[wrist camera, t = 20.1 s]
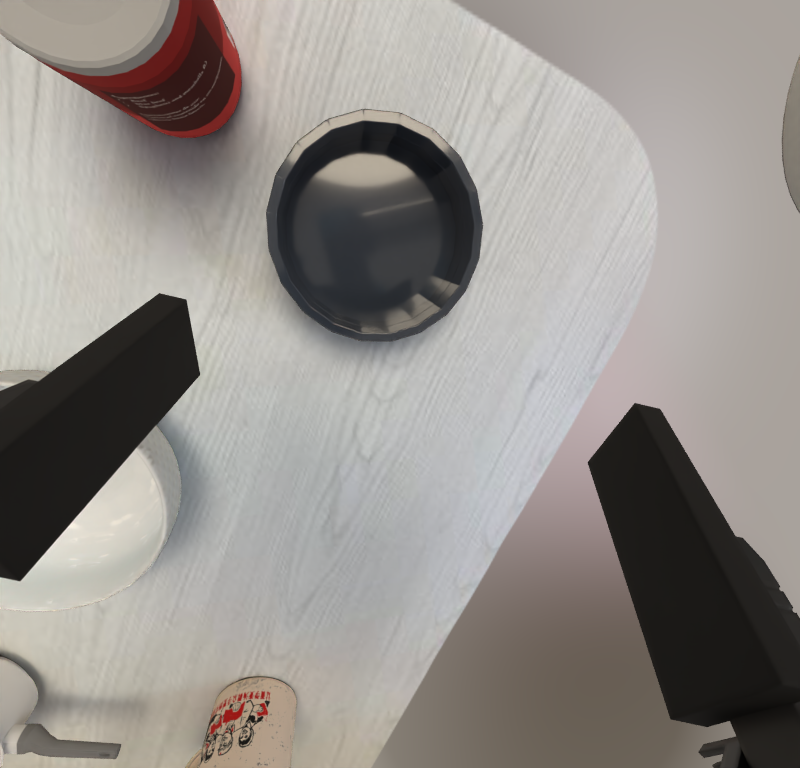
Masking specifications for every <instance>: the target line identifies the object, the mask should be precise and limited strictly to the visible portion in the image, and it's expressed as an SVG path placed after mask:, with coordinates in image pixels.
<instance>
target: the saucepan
mask: <svg viewBox="0 0 800 768" xmlns="http://www.w3.org/2000/svg"><path fill="white" fill-rule="evenodd" d="M37 701H38V691H37V687H36V685H35V683H34V681H33V680H32V679H31V678H30V676H29V675H28V674H27V673H26V672H25V670H24V669H23V668H22V667H20V666H19V665H18V664H16V663H15V662H13V661H11V660H9V659H7V658H4V657H2V656H0V768H1V767H2V765H3V759H4V754H25V753H28V752H33V753H35V754H38V755H42V756H49V757H71V758H100V759H116V758H117V756H118V754H119V751H120V748H121V744H114V743H99V742H84V741H70V740H57V739H56V738H55V737H54V736H52V735H51V734H50V733H49V732H48V731H47V730H46V729H45V728H44V727H43V726H42V725H41V724H28V725H27V724H25V722H26V721H27V719H28V718H29V716H30V715H31V713H32V712H33V710H34V708H35V706H36V704H37Z"/></svg>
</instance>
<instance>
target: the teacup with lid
mask: <svg viewBox="0 0 800 768" xmlns="http://www.w3.org/2000/svg"><path fill="white" fill-rule="evenodd" d="M296 705H297V701H296V696H295V694H294V692H293V690H292V689H291V688H290V687H289V686H288V685H286V684H285V683H283V682H281V681H279V680H276V679H272V678H265V677H255V678H248V679H244V680H241V681H238V682H236V683H234V684H232V685H230V686H228V687H227V688H226V689H225V690H223V691H222V692H221V693H220V695H219V696H218V698H217V699H216V701H215V704H214V708H213V711H212V715H211V718H210V722H209V726H208V729H207V733H206V737H205V740H204V744H203V747H202V749H200V750H199V751H198V752H197V753H196V754H195V755H194V756H193V757H192V758H191V760H190V761H189V763H188V764H187V765H186V767H185V768H290V766H291V756H292V746H293V736H294V726H295V716H296Z"/></svg>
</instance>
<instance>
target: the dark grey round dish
mask: <svg viewBox="0 0 800 768" xmlns="http://www.w3.org/2000/svg"><path fill="white" fill-rule="evenodd" d="M266 217H267V233H268V248H269V252H270V255H271V257H272V260H273V263H274V265H275V268H276V271H277V273H278V276H279V279H280V281H281V284H282V285H283V286H284V288H285V289H286V290H287V292H288V293H289V294H290V296H291V297H292V298H293V299H294V301H295V302H296V303H297V305H298V306H299V307H300V309H301V310H302V311H304V313H305V314H307V315H308V316H310V317H311V318H312V319H314V320H315V321H317V322H318V323H319V324H321V325H322V326H324V327H325V328H326V329H328V330H329V331H331V332H334V333H337V334H340V335H343V336H346V337H349V338H352V339H355V340H358V341H360V340H361V341H387V342H390V341H395V340H398V339H401V338H405V337H408V336H411V335H415V334H418V333H420V332H422V331H424V330H425V329H427V328H428V327H430V326H431V325H433V324H434V323H436V322H437V321H439V320H440V319H441V318H443V317H444V316H446V315H447V314H448V313H449V311H450V310H451V309H452V308H453V306H454V305H455V304H456V303H457V301H458V300H459V299H460V298H461V296H462V295H463V294H464V293H465V291H466V289H467V288H468V285H469V283H470V280H471V278H472V275H473V273H474V271H475V268H476V266H477V263H478V261H479V256H480V247H481V238H482V229H483V225H482V224H483V222H482V216H481V210H480V205H479V199H478V193H477V190H476V186H475V184H474V183H473V181H472V179H471V177H470V175H469V173H468V171H467V169H466V167H465V165H464V163H463V161H462V159H461V157H459V154H458V153H457V152H456V151H455V150H454V149H453V148H452V147H451V146H450V145H449V144H448V143H447V142H446V141H445V140H444V139H443V138H442V137H441V136H440V135H439V134H438V133H437V132H436V131H435V130H434V129H433V128H430V127H428V126H426V125H424V124H422V123H420V122H418V121H416V120H414V119H412V118H410V117H408V116H406V115H404V114H402V113H399V112H390V111H380V110H370V109H361V110H358V111H354V112H350V113H347V114H343V115H340V116H336V117H333V118H329V119H327V120H325V121H324V122H322V123H321V124H320V125H318V126H317V127H316V128H314V129H313V130H312V131H310V132H309V133H308V134H306V135H305V136H304V137H302V138H301V139H300V140H298V141H297V143H295V145H294V147H293V148H292V150H291V151H290V153H289V154H288V156H287V157H286V159H285V160H284V162H283V164H282V165H281V167H280V168H279V170H278V171H277V173H276V175H275V179H274V183H273V187H272V191H271V195H270V199H269V203H268V207H267V212H266Z"/></svg>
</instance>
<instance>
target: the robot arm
mask: <svg viewBox="0 0 800 768" xmlns="http://www.w3.org/2000/svg"><path fill="white" fill-rule="evenodd" d="M199 375H200V371H199V366H198V360H197V355H196V349H195V344H194V339H193V333H192V328H191V322H190V317H189V311H188V306H187V300H186V299H182V298H177V297H173V296H169V295H164V294H160V293H159V294H158V295H156V296H155V297H154V298H152V299H151V300H150V301H148V302H147V303H145V304H144V305H143V306H141V307H140V308H139V309H137V310H136V311H134V312H133V313H132V314H130V315H129V316H128V317H126V318H125V319H123V320H122V321H121V322H119V323H118V324H117V325H115V326H114V327H112V328H111V329H110V330H108V331H107V332H106V333H104V334H103V335H101V336H100V337H99V338H97V339H96V340H95V341H93V342H92V343H90V344H89V345H88V346H86V347H85V348H84V349H82V350H81V351H79V352H78V353H77V354H75V355H74V356H73V357H71V358H70V359H68V360H67V361H66V362H64V363H63V364H62V365H60V366H59V367H57V368H56V369H55V370H53V371H52V372H51V373H49V374H48V375H46V376H45V377H44V378H42V379H41V380H40V381H34V380H30V379H28V380H25V381H23V382H21V383H18V384H16V385H13V386H11V387H8V388H6V389H4V390H1V391H0V577H1V578H6V579H10V580H15V581H21V580H22V579H23V578H24V577H25V576H26V575H27V573H28V572H29V571H30V570H31V569H32V568H33V566H34V565H35V564H36V563H37V562H38V561H39V560H40V558H41V557H42V556H43V555H44V554H45V553H46V552H47V550H48V549H49V548H50V547H51V546H52V545H53V543H54V542H55V541H56V540H57V539H58V538H59V537H60V535H61V534H62V533H63V532H64V531H65V530H66V529H67V527H68V526H69V525H70V524H71V523H72V522H73V520H74V519H75V518H76V517H77V516H78V515H79V514H80V512H81V511H82V510H83V509H84V508H85V507H86V506H87V504H88V503H89V502H90V501H91V500H92V499H93V497H94V496H95V495H96V494H97V493H98V492H99V491H100V489H101V488H102V487H103V486H104V485H105V484H106V482H107V481H108V480H109V479H110V478H111V477H112V476H113V474H114V473H115V472H116V471H117V470H118V469H119V468H120V466H121V465H122V464H123V463H124V462H125V461H126V459H127V458H128V457H129V456H130V455H131V454H132V453H133V451H134V450H135V449H136V448H137V447H138V446H139V445H140V443H141V442H142V441H143V440H144V439H145V438H146V436H147V435H148V434H149V433H150V432H151V431H152V430H153V428H154V427H155V426H156V425H157V424H158V423H159V422H160V420H161V419H162V418H163V417H164V416H165V415H166V413H167V412H168V411H169V410H170V409H171V408H172V407H173V405H174V404H175V403H176V402H177V401H178V400H179V399H180V397H181V396H182V395H183V394H184V393H185V392H186V390H187V389H188V388H189V387H190V386H191V385H192V384H193V382H194V381H195V380H196V379H197V378H198V377H199ZM588 465H589V468H590V471H591V475H592V477H593V480H594V484H595V487H596V490H597V493H598V496H599V499H600V502H601V505H602V509H603V511H604V515H605V517H606V521H607V524H608V527H609V530H610V533H611V536H612V539H613V542H614V546H615V549H616V552H617V555H618V558H619V561H620V564H621V567H622V570H623V573H624V577H625V580H626V583H627V586H628V589H629V592H630V595H631V598H632V601H633V604H634V607H635V611H636V613H637V617H638V620H639V623H640V626H641V629H642V632H643V635H644V638H645V641H646V645H647V648H648V651H649V654H650V657H651V660H652V663H653V666H654V669H655V672H656V676H657V678H658V682H659V685H660V688H661V691H662V694H663V697H664V700H665V703H666V706H667V710H668V713H669V716H670V719H672V720H676V721H681V722H686V723H691V724H695V725H700V726H705V727H709V726H712V725H716V724H720V723H723V722H727V721H730V722H731V724H732V727H733V729H734V731H735V734H736V736H737V737H733V738H728V739H724V740H720V741H716V742H711V743H707V744H704V745H703V746H702V748H701V749H700V751H699V753H700V754H701V755H702V756H703V757H704V758H705V757H710V756H715V755H720V754H723V757H722V761H720V762H717V763H715V764H713V767H714V768H800V618H799V616H798V615H797V613H794V612H793V611H792V608H793V607H792V605H791V604H790V602H789V600H788V598H787V597H786V595H785V594H784V592H783V591H780V590H779V587H780V586H779V584H778V582H777V581H776V579H775V578H774V576H773V574H772V573H771V571H770V569H769V568H768V566H767V565H766V563H765V562H764V560H763V559H762V558H761V557H760V556H759V555H758V554H757V553H756V552H755V551H754V550H753V548H751V546H750V545H749V544H748V543H747V542H746V541H745V540H744V539H743V538H740V537H736V536H735V535H734V533H733V531H732V530H731V528H730V526H729V525H728V523H727V521H726V519H725V518H724V516H723V514H722V513H721V511H720V509H719V508H718V506H717V504H716V503H715V501H714V499H713V497H712V496H711V494H710V493H709V491H708V489H707V487H706V486H705V484H704V482H703V481H702V479H701V477H700V476H699V474H698V472H697V470H696V469H695V467H694V465H693V464H692V462H691V461H690V459H689V457H688V455H687V453H686V452H685V450H684V448H683V447H682V445H681V443H680V442H679V440H678V438H677V437H676V435H675V433H674V431H673V430H672V428H671V426H670V425H669V423H668V421H667V420H666V418H665V416H664V415H663V413H662V411H661V410H660V409H658V408H653V407H649V406H645V405H641V404H636V403H635V404H634V405H633V406H632V407H631V409H630V410H629V411H628V412H627V414H626V415H625V416H624V417H623V419H622V420H621V421H620V422H619V424H618V425H617V426H616V428H615V429H614V430H613V431H612V432H611V434H610V435H609V436H608V437H607V439H606V440H605V441H604V443H603V444H602V445H601V446H600V448H599V449H598V450H597V451H596V453H595V454H594V455H593V456H592V458H591V459H590V460H589V461H588Z"/></svg>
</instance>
